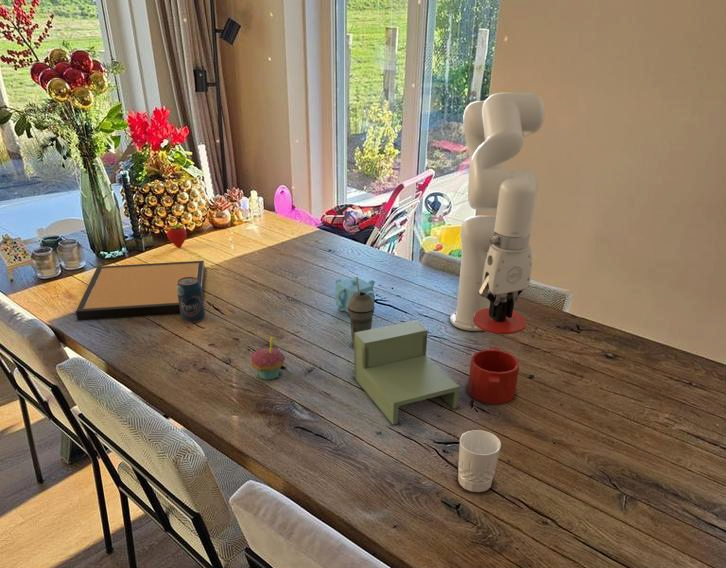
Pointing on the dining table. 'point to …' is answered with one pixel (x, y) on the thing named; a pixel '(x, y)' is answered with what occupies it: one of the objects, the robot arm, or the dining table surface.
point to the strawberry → (177, 235)
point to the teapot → (351, 291)
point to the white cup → (477, 460)
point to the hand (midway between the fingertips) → (500, 316)
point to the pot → (493, 376)
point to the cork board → (136, 289)
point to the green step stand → (399, 368)
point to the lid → (500, 320)
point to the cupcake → (267, 361)
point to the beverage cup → (360, 311)
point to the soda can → (190, 299)
